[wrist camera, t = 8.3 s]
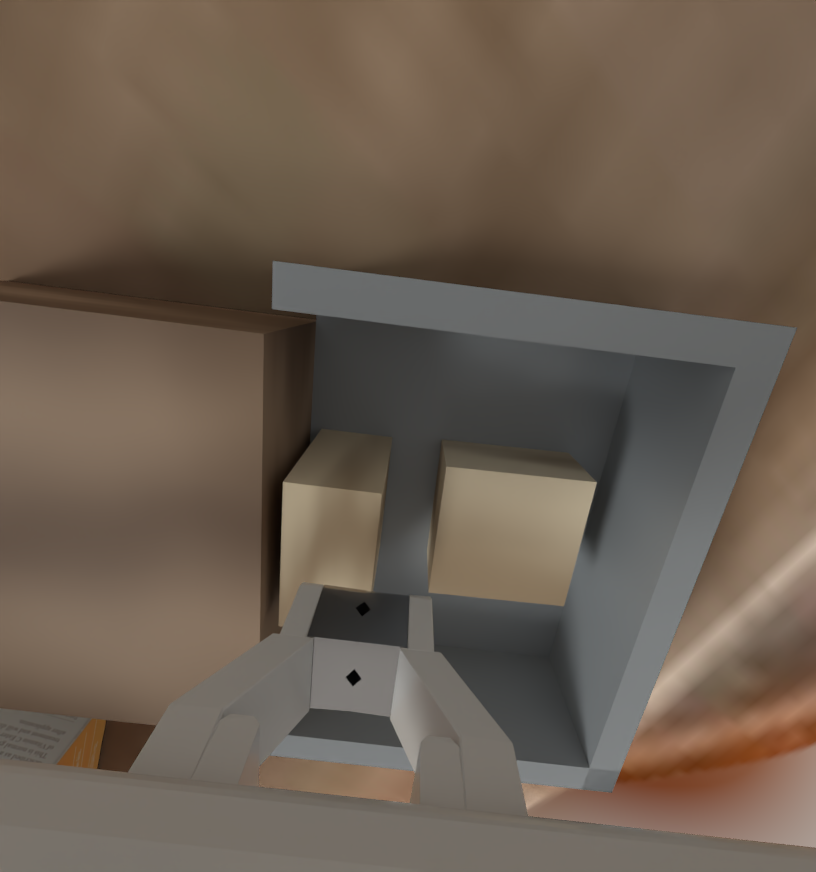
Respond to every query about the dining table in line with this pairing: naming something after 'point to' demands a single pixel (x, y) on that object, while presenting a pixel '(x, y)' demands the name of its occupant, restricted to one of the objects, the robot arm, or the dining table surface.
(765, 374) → the tray
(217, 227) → the dining table surface
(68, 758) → the small box
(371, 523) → the front tile
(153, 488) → the brown and beige block
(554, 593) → the rear tile
